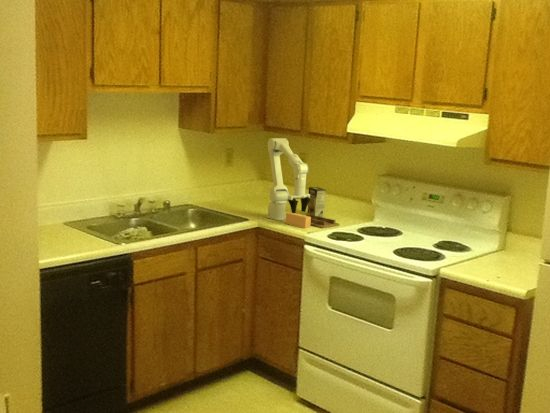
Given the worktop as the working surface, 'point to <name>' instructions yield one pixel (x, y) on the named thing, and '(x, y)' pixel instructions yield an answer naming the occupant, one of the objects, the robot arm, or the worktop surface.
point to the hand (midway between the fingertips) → (298, 212)
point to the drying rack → (322, 222)
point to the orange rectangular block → (298, 220)
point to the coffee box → (316, 201)
